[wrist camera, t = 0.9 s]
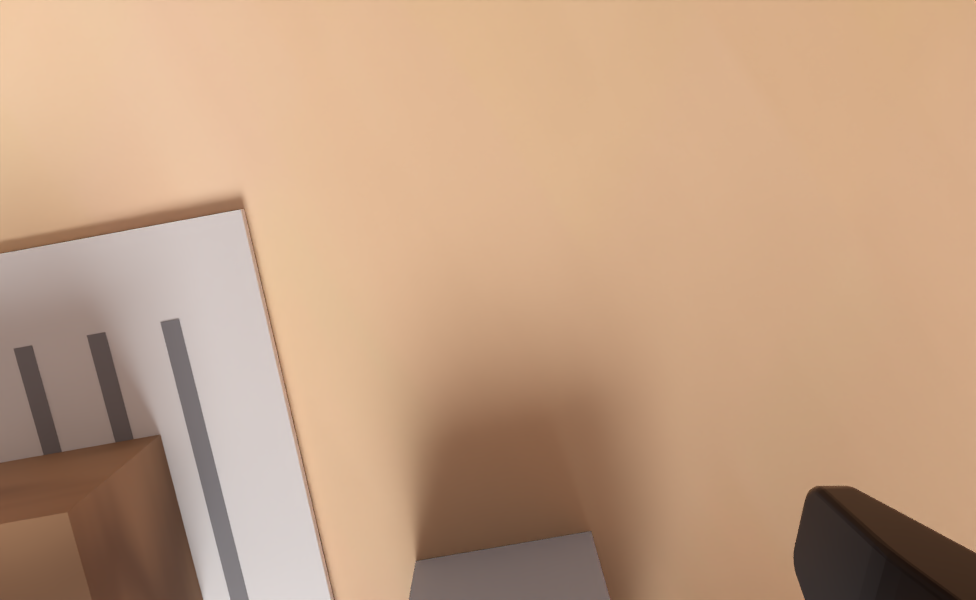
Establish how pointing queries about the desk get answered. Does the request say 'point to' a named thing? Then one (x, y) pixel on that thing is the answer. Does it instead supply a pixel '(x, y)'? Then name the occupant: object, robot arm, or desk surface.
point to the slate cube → (515, 572)
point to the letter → (168, 388)
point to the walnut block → (94, 526)
